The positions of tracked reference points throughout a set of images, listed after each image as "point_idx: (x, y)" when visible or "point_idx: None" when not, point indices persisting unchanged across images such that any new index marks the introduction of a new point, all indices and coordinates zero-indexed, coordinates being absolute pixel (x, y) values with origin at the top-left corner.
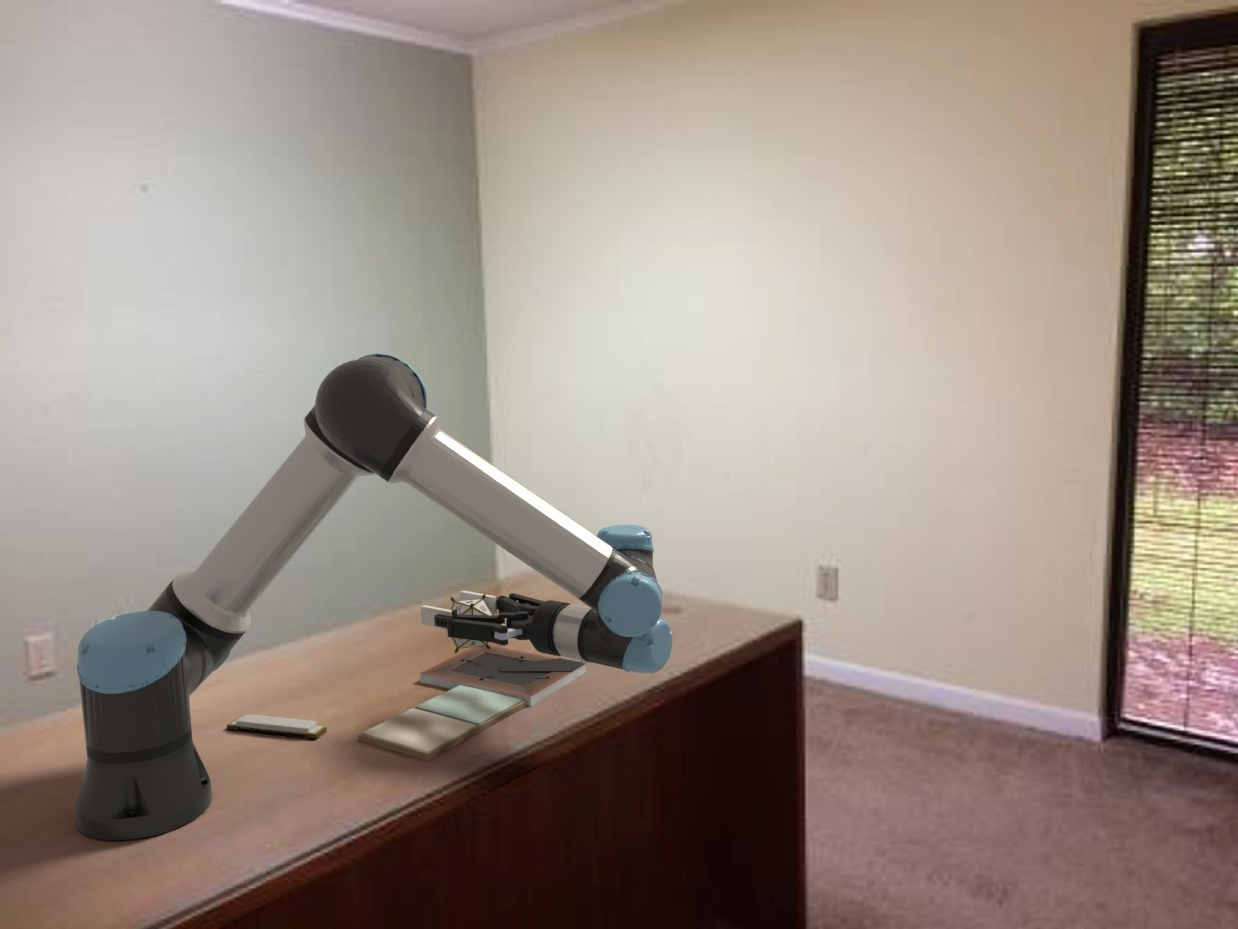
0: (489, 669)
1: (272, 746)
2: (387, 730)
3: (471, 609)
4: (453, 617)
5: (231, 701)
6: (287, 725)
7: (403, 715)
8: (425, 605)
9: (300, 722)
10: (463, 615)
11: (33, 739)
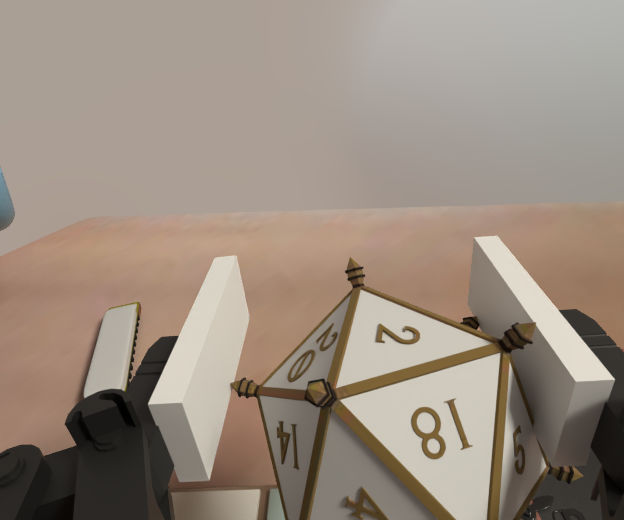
0: (597, 474)
1: (50, 392)
2: None
3: (320, 411)
4: (86, 443)
5: (204, 266)
6: (92, 367)
7: (207, 504)
8: (233, 259)
9: (108, 373)
10: (121, 477)
11: (66, 234)
